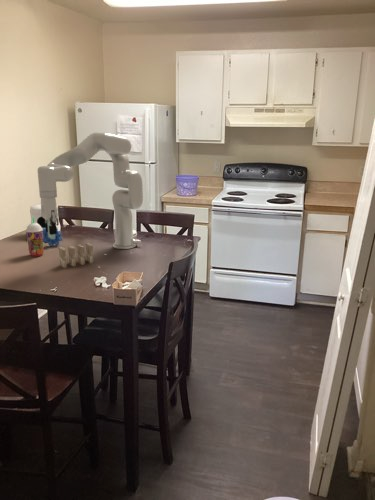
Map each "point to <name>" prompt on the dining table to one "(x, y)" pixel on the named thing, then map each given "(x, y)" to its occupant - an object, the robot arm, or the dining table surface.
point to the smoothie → (35, 239)
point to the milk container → (36, 213)
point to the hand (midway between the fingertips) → (51, 232)
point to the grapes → (51, 241)
